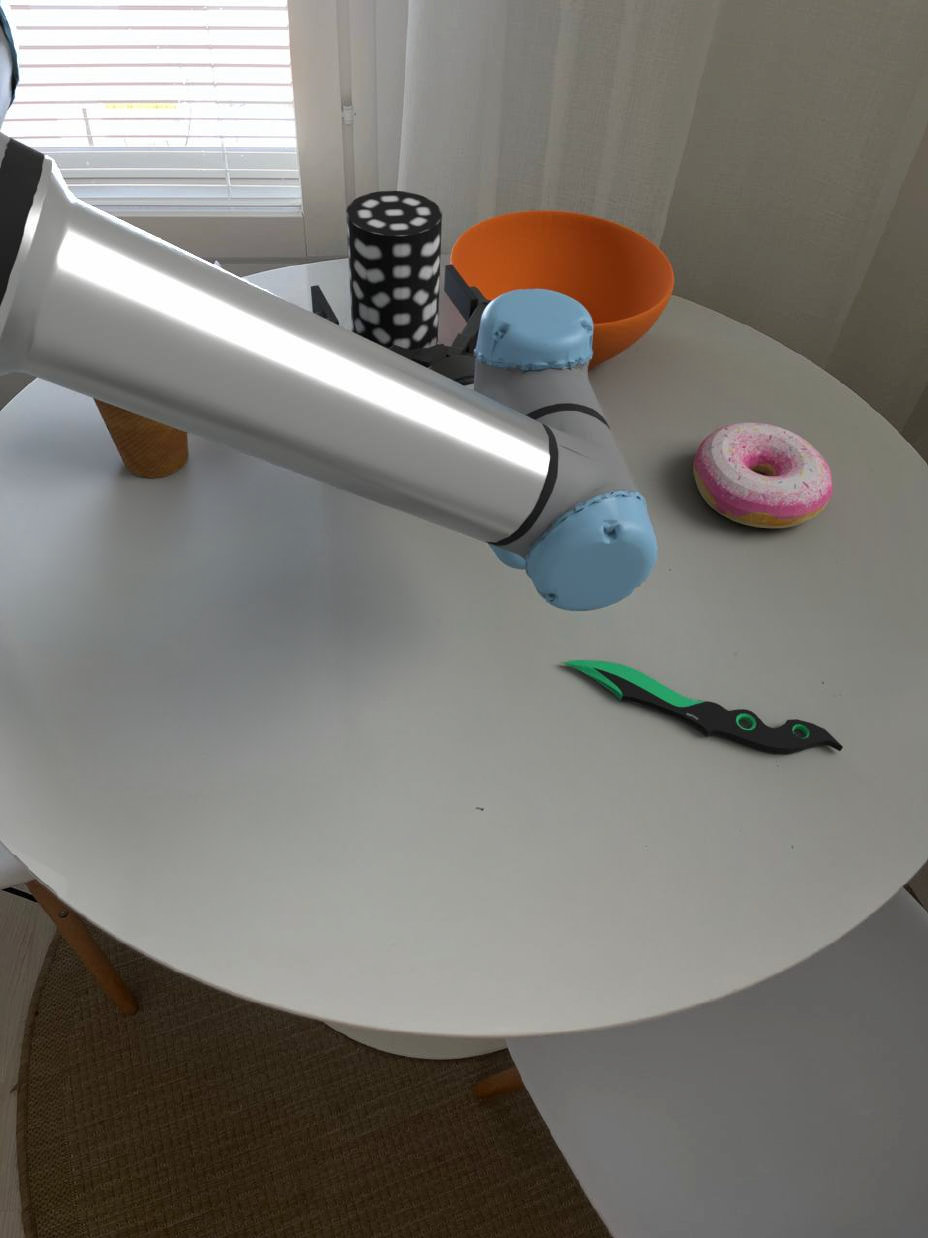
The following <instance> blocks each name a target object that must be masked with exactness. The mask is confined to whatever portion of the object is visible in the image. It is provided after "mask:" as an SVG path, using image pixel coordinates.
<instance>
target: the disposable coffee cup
mask: <svg viewBox="0 0 928 1238" xmlns="http://www.w3.org/2000/svg"><path fill="white" fill-rule="evenodd" d="M92 400H93V402H94V403H95V405H96V408H97V409H98V412H99V414H100V416H101V418H102V420H103V423H104V425H105V427H106V429H107V430H108V433H109V435H110V437H111V439H112V441H113V443H114V445H115V447H116V449H117V452H118V454H119V455H120V458H121V461H122V462H123V464H124V466H125V468H126V469H127V470H128V471H129V472H130V473H132V474H133V475H136V476H138V477H141V478H147V479H153V478H154V479H157V478H164V477H167V476H171V475H172V474H174V473H176V472H178V471H179V470H181V469H182V468H184V466H185V465H186V464H187V462H188V460H189V456H190V453H189V452H190V451H189V441H188V437H189V436H188V433H187V432H184V431H182V430H179V429H176V428H174V427H171V426H168V425H165V424H163V423H160V422H157V421H154V420H152V419H149V418H146V417H144V416H141V415H138V414H135V413H133V412H130V411H127V410H125V409H122V408H119V407H116V406H114V405H111V404H108V403H106V402H103V401H100V400H97V399H95V398H92Z"/></svg>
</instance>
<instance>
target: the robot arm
mask: <svg viewBox="0 0 928 1238" xmlns="http://www.w3.org/2000/svg"><path fill="white" fill-rule="evenodd" d="M18 37H19V36H18V31H17V26H16V22H15V19H14V15H13V13H12V8H11V6H10V3H9V1H8V0H0V130H2V127H3V124H4V121H5V119H6V115H7V113H8V111H9V109H10V108H11V107H12V105H13V103H14V102H15V100H16V97H17V89H18V86H19V83H20V72H19V70H20V57H19V56H20V53H19V52H20V51H19V38H18ZM242 278H243V277H239V276H237V275H235V274H233V273H231V272H229V271H227V270H225V269H223V268H222V269H221V268H219V267H217V266H215V265H214V264H212V263H211V262H208V261H206V260H204V259H202V258H200V257H198V256H196V255H194V254H192V253H190V252H188V251H186V250H184V249H181V248H179V247H177V246H175V245H173V244H171V243H169V242H167V241H165V240H163V239H161V238H160V237H157V236H155V235H153V234H150V233H148V232H146V231H145V230H142V229H140V228H138V227H136V226H134V225H132V224H130V223H128V222H126V221H124V220H121V219H119V218H117V217H115V216H113V215H111V214H109V213H107V212H105V211H103V210H100V209H98V208H97V207H94V206H92V205H90V204H88V203H86V202H84V201H82V200H80V199H78V198H76V197H75V196H74V194H73V193H72V192H71V191H70V190H69V188H68V186H67V184H66V182H65V180H64V178H63V176H62V174H61V172H60V169H59V168H58V166H57V163H56V162H55V159H54V158H52V157H51V156H48V154H47V155H46V154H44V153H43V152H40V151H39V150H37V149H34V148H33V147H31V146H28V145H27V144H25V143H22V142H21V141H18V140H17V139H14V138H13V137H10V136H8V135H7V134H5V133H3V132H1V131H0V377H2V376H5V375H8V374H10V373H13V372H15V373H24V374H27V375H29V376H31V377H36V378H37V379H40V380H43V381H46V382H48V383H51V384H54V385H56V386H60V387H62V388H65V389H68V390H70V391H73V392H76V393H79V394H81V395H84V396H86V397H88V398H89V397H90V398H92V399H93V398H95V399H97V400H100V401H103V402H106V403H108V404H111V405H114V406H116V407H119V408H122V409H125V410H127V411H130V412H133V413H135V414H138V415H141V416H144V417H146V418H149V419H152V420H154V421H157V422H160V423H163V424H165V425H168V426H171V427H174V428H176V429H179V430H182V431H184V432H187V434H190V435H192V436H195V437H199V438H201V439H203V440H207V441H209V442H211V443H214V444H217V445H220V446H223V447H225V448H228V449H231V450H234V451H236V452H239V453H241V454H245V455H247V456H249V457H252V458H256V459H258V460H260V461H263V462H266V463H268V464H272V465H274V466H277V467H280V468H282V469H285V470H287V471H291V472H293V473H295V474H299V475H301V476H305V477H307V478H310V479H313V480H315V481H317V482H320V483H323V484H326V485H328V486H332V487H334V488H337V489H339V490H342V491H345V492H347V493H350V494H353V495H355V496H359V497H362V498H363V499H364V498H365V499H367V500H369V501H372V502H375V503H378V504H380V505H382V506H385V507H389V508H391V509H394V510H397V511H399V512H402V513H404V514H408V515H410V516H413V517H416V518H418V519H421V520H424V521H426V522H429V523H432V524H435V525H438V526H440V527H443V528H446V529H447V530H452V531H454V532H457V533H459V534H462V535H464V536H467V537H470V538H473V539H475V540H478V541H481V542H484V543H486V544H488V546H489V547H490V549H491V551H493V553H494V554H495V556H496V557H497V558H498V560H499V561H500V562H501V563H503V564H504V565H506V566H507V567H510V568H513V569H516V570H525V574H526V575H527V577H528V578H529V579H531V582H532V584H533V586H534V588H535V590H536V592H537V593H538V595H539V596H540V597H541V599H543V600H545V602H546V603H547V604H549V605H551V606H553V607H555V608H557V609H560V610H562V611H563V610H564V611H569V612H589V611H595V610H600V609H603V608H606V607H609V606H612V605H614V604H616V603H618V602H620V601H622V600H624V599H625V598H627V597H629V596H631V595H632V594H633V593H634V592H635V590H636V589H637V588H639V587H640V586H641V585H642V584H643V583H645V582H646V581H647V580H648V578H649V577H650V575H651V573H652V572H653V570H654V568H655V566H656V563H657V559H658V554H659V553H658V552H659V545H658V540H657V536H656V533H655V530H654V527H653V525H652V521H651V518H650V516H649V513H648V505H647V500H646V498H645V497H644V495H642V494H641V493H640V492H639V490H638V487H637V486H636V484H635V482H634V479H633V477H632V474H631V473H630V471H629V468H628V466H627V464H626V462H625V459H624V458H623V455H622V453H621V450H620V449H619V446H618V444H617V442H616V440H615V438H614V434H613V432H612V431H611V427H610V425H609V423H608V421H607V418H606V416H605V414H604V411H603V409H602V406H601V405H600V402H599V400H598V398H597V396H596V393H595V391H594V389H593V387H592V384H591V382H590V380H589V372H588V371H589V370H588V365H589V362H590V359H592V355H593V350H592V339H593V321H592V318H591V316H590V314H589V313H588V311H587V310H586V309H585V307H584V306H583V305H581V304H580V303H579V302H578V301H576V300H574V299H573V298H571V297H569V296H566V295H564V294H561V293H558V292H555V291H551V290H545V289H525V290H522V289H519V290H514V291H510V292H507V293H504V294H502V295H500V296H498V297H497V298H495V299H494V300H493V301H490V300H488V299H486V298H485V297H484V296H483V294H482V293H481V292H480V290H479V289H478V288H476V287H475V286H473V287H469V286H468V285H467V283H466V282H465V281H464V279H463V278H462V277H461V275H460V274H459V273H458V271H457V270H456V269H455V267H454V266H453V265H452V264H451V265H450V264H445V265H444V282H443V283H444V286H443V292H444V293H445V294H446V296H447V297H448V299H449V300H450V302H451V303H452V304H453V306H454V307H455V308H456V310H457V311H458V313H459V314H460V315H461V317H462V318H463V320H464V321H465V323H466V324H465V326H464V327H463V329H462V331H461V333H460V332H458V333H457V335H456V337H455V339H454V340H453V341H452V343H451V344H450V345H445V344H444V343H439V344H437V345H435V346H432V347H429V348H417V349H412V350H408V349H405V348H403V347H400V346H397V345H392V346H391V347H390V348H389V347H386V346H383V345H380V344H378V343H375V342H372V341H370V340H368V339H366V338H364V337H362V336H360V335H358V334H356V333H354V332H352V330H349V329H347V328H345V327H343V326H341V325H340V321H339V319H338V317H337V316H336V314H335V312H334V310H333V309H332V307H331V305H330V303H329V301H328V299H327V298H326V296H325V295H324V293H323V291H322V289H321V287H320V285H319V284H317V285H311V286H310V295H311V297H310V298H311V309H312V311H310V310H308V309H306V308H304V307H302V306H300V305H299V304H296V303H293V302H291V301H289V300H287V299H285V298H283V297H281V296H279V295H277V294H275V293H272V292H271V291H269V290H267V289H264V288H263V287H260V286H258V285H257V284H254V283H252V282H250V281H249V280H248V281H249V282H248V281H246V280H244V279H242Z"/></svg>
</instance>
